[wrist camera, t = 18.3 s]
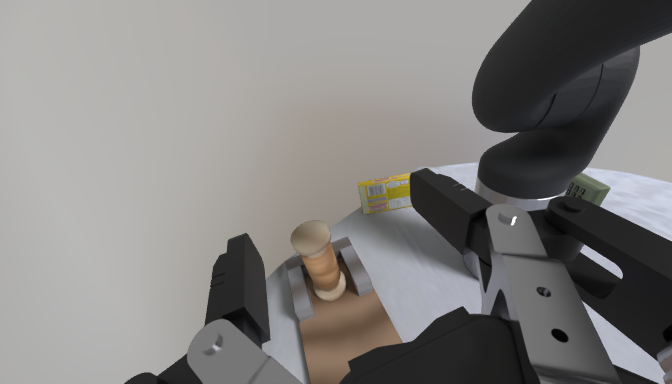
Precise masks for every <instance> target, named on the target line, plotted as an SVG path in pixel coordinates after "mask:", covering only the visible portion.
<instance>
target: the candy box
mask: <svg viewBox="0 0 672 384" xmlns="http://www.w3.org/2000/svg"><path fill="white" fill-rule="evenodd" d="M429 170H430V169H429ZM410 174H411V173H408V174H403V175H397V176H392V177H387V178H381V179H376V180H371V181H366V182H360V183H358V188H359V193H360V198H361V204H362V211H363V214H370V213H376V212H382V211H387V210H393V209H399V208H405V207H411V206H412V204H411V201H410Z"/></svg>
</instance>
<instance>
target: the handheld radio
mask: <svg viewBox="0 0 672 384" xmlns="http://www.w3.org/2000/svg"><path fill="white" fill-rule="evenodd" d="M609 190H610V187H609V186H607V185H605V184H603V183H601V182H599V181H597V180H595V179H593V178H591V177H589V176H587V175H585V174H583V173H580V174H578V175H577V176H576V177H574V178H573V179H572V180H571V182H570V184H569V187H568V188H567V191H566V193H565V195H564V196H571V197H577V198H581V199H584V200H587V201H589V202H591V203H593V204H595V205H597V206H600V205H601V203H602V201H603V200H604V198H605V197H606V195H607V193H608V192H609Z"/></svg>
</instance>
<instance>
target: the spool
mask: <svg viewBox="0 0 672 384" xmlns="http://www.w3.org/2000/svg"><path fill="white" fill-rule="evenodd" d="M330 240H331V234H330V231H329V228H328V226H327V224H325V223H324V222H322V221H317V220H313V221H308V222H305V223H303V224H301V225H300V226H298V227H297V228H296V229H295V230H294V232H293V233H292V235H291V243H292V245H293V248H294V250H295V251H296V252H297V253H298V254H300V255H301V258H302V260H303V262H304V264H305V266H306V268H307V270H308V272H309V275H310V277H311V279H312V281H313V288H314V291H315V293H316V295H317V297H318V298H319V299H321V300H323V301H327V302H330V301H334V300H337V299H338V298H340V297H341V296H342V295H343V294H344V292H345V290H346V285H347V284H346V279H345V276H344V274H343V273H342V272H341V271H340V269H339V266H338V263H337V260H336V257H335V254H334V251H333V248H332V245H331V242H330Z"/></svg>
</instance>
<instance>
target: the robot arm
mask: <svg viewBox="0 0 672 384" xmlns="http://www.w3.org/2000/svg"><path fill="white" fill-rule="evenodd" d="M669 33H672V0H532V1H531V2H530V3H529V4H528V5H527V6H526V8H525V9H524V10H523V11H522V12H521V13H520V15H519V16H518V17H517V18H516V19H515V20H514V22H513V23H512V24H511V25H510V26H509V27H508V29H507V30H506V31H505V32H504V33H503V34H502V35H501V37H500V38H499V39H498V40H497V42H496V43H495V44H494V45H493V47H492V48H491V49H490V51H489V52H488V54H487V56H486V57H485V59H484V61H483V63H482V65H481V67H480V69H479V71H478V74H477V77H476V79H475V83H474V87H473V92H472V106H473V110H474V114H475V116H476V118H477V119H478V120H479V122H480V123H481V124H482V125H483V126H484V127H486V128H487V129H490V130H492V131H496V132H503V133H515V132H519V133H518V134H516V135H515V136H513V137H511V138H509V139H507V140H505V141H503V142H501V143H499V144H497V145H495V146H493V147H491V148H489V149H488V150H487V151H486V152H485V153H484V154H483V155H482V157H481V159H480V163H479V168H478V174H477V180H476V186H475V191H474V192H473V191H471V190H470V189H468V188H466V187H465V186H463V185H462V184H459V182H457V181H456V180H454V179H452V178H451V177H448V176H445V175H441V174H435V173H434V172H432V171H431V170H429V169H428V168H424V169H421V170H418V171H416V172H413V173H411V174H410V201H411V204H412V206H413V208H414V209H415V210H416V211H417V212H418V213H419V214H420V215H421V216H422V217H423V218H424V219H425V220H426V221H427V222H428V223H429V224H430V225H432V226H433V227H434V228H435V229H436V230H437V231H438V232H439V233H440V234H441V235H442V236H443V237H444V238H445V239H446V240H447V241H448V242H449V243H450V244H451V245H452V246H454V247H455V248H456V249H457V250H458V251H459V252H460V253H461V254H462V255H463V256H464V263H465V265H466V267H467V268H468V270H469V271H470V272H471V273H472V274H473V275H474V276H475V277H477V278H478V279H479V284H480V290H481V297H482V309H481V314H469V313H468V312H467V311H466V309H465V308H464V307H463V306H462V307H460V308H458V309H456V310H453V311H451V312H449V313H447V314H445V315H443V316H441V317H439V318H437V319H435V320H434V321H433V322H432V323H431V324H430V325H429V326H428V327H427V328H426V329H425V330H424V331H423V332H422V333H421V334H420V335H419V336H418V337H417V338H416V339H415V340H413V341H411V342H407V343H400V344H394V345H387V346H381V347H377V348H375V349H372V350H370V351H368V352H366V353H364V354H362V355H360V356H358V357H356V358H354V359H352V360H350V361H348V365H349V368H350V372H349V373H348V374H346V375H345V376H344V378H343V379H342V380H341V381H340V382H339V384H659V383H656V382H654V381H651V380H649V379H647V378H644V377H642V376H640V375H637V374H635V373H633V372H630V371H628V370H625V369H623V368H621V367H618V366H616V365H614V364H612V362H611V360H610V358H609V356H608V354H607V352H606V350H605V348H604V346H603V344H602V342H601V339H600V337H599V335H598V333H597V331H596V329H595V327H594V325H593V323H592V321H591V319H590V317H589V315H588V313H587V311H586V309H585V306H584V304H583V302H585V303H586V304H587V305H588V306H590V307H591V308H592V309H593V310H594V311H596V312H597V313H598V314H599V315H601V316H602V317H603V318H604V319H606V320H607V321H608V322H609V323H611V324H612V325H613V326H614V327H616V328H617V329H618V330H619V331H621V332H622V333H623V334H624V335H626V336H627V337H628V338H629V339H631V340H632V341H633V342H634V343H636V344H637V345H638V346H639V347H640V348H642V349H643V350H644V351H645V352H647V353H648V354H649V355H650V356H652V357H653V358H654V359H655V360H657V361H658V362H659V364H660V366H661V368H662V369H663V371H664V372H665V373H666V374H665V375H664V377H663V379H664V382H665V384H672V241H670V240H668V239H666V238H663V237H661V236H659V235H657V234H655V233H653V232H651V231H649V230H647V229H645V228H643V227H641V226H639V225H637V224H635V223H632V222H630V221H628V220H626V219H624V218H622V217H620V216H618V215H616V214H614V213H612V212H610V211H608V210H606V209H604V208H601V207H599V206H597V205H595V204H593V203H591V202H589V201H587V200H584V199H581V198H577V197H571V196H564V195H565V193H566V191H567V188H568V187H569V184H570V182H571V180H572V179H573V178H574V177H576V176H577V175H578V174H580V173H581V172H582V171H583V170H584V169H585V168H586V167H587V166H588V164H589V163H590V161H591V160H592V158H593V156H594V154H595V152H596V151H597V148H598V147H599V145H600V143H601V141H602V140H603V138H604V136H605V134H606V133H607V131H608V129H609V127H610V126H611V124H612V122H613V120H614V119H615V117H616V115H617V113H618V112H619V110H620V108H621V106H622V104H623V102H624V100H625V99H626V96H627V95H628V92H629V90H630V88H631V85H632V83H633V81H634V78H635V74H636V71H637V67H638V62H639V56H640V45H643V44H645V43H647V42H650V41H652V40H655V39H657V38H660V37H662V36H665V35H667V34H669ZM584 244H585V245H586V246H588V247H590V248H591V249H593V250H594V251H596V252H598V253H599V254H601V255H602V256H604V257H606V258H607V259H609V260H610V261H612V262H614V263H615V264H616V265H617V266H618V267H619V268H620V269H621V271H622V273H623V278H622V279H620V278H619V277H617V276H616V275H614V274H613V273H611V272H609V271H608V270H606V269H605V268H603V267H602V266H600V265H599V264H597V263H596V262H594V261H593V260H591V259H590V258H588V257H587V256H585V255H584V254H582V253H581V252H580V250H581V249H582V247H583V245H584ZM210 287H211V289H210V292H209V299H208V306H207V313H206V319H205V326H204V327H203V328H202V329H201V330H200V331H199V332H198V334H197V335H196V336H195V337H194V339H193V340H192V342H191V344H190V346H189V349H188V353H187V354H186V355H184V356H183V357H182V358H181V359H179V360H178V361H177V362H175V363H174V364H173V365H172V366H170V367H169V368H167V369H166V370H165V371H163V372H162V373H161V374H159V375H158V376H155V375H154V374H152V373H141V374H138V375H136V376H134V377H133V378H131V379H130V380H128V381H127V382H126V383H124V384H302V383H301V382H300V381H299V380H298V379H297V378H296V377H294V376H293V375H292V374H291V373H290V372H289V371H288V370H286V369H285V368H284V367H283V366H282V365H281V364H280V363H278V362H277V361H276V360H275V359H274V358H272V357H271V356H268V355H267V354H266V353H265V352H264V351H262V344H263V343H265V342H267V341H269V340H271V339H270V328H269V316H268V304H267V293H266V281H265V270H264V264H263V261H262V258H261V256H260V254H259V252H258V251H257V249H256V247H255V246H254V244H253V242H252V240H251V239H250V237H249V235H248V234H247V233H245V234H242V235H239V236H237V237H234V238H231V239H229V240H228V245H227V253H225V254H222V255H220V256H219V258H218V259H217V261H216V263H215V265H214V266H213V272H212V280H211V285H210ZM582 301H583V302H582Z"/></svg>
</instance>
